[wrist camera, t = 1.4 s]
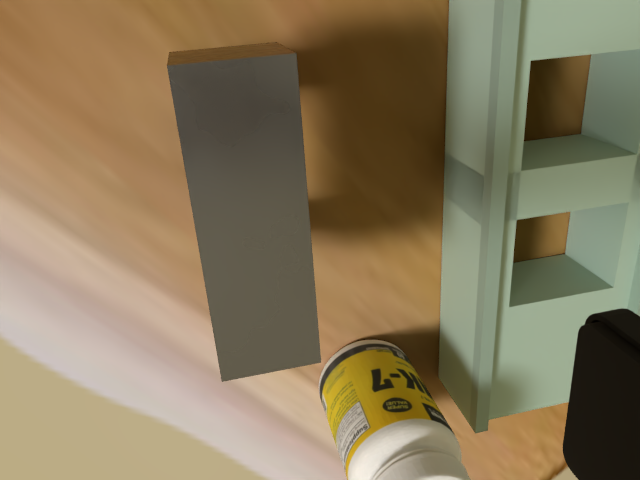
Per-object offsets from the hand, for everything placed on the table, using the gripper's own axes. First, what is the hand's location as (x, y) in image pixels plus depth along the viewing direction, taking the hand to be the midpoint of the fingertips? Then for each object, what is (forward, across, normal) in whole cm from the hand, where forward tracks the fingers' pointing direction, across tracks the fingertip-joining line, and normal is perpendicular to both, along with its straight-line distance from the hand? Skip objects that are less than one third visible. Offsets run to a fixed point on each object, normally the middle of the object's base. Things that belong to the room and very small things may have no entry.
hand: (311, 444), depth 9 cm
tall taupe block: (+15, 0, -1) cm, 15 cm away
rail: (+15, -13, +1) cm, 20 cm away
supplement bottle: (+16, -5, +11) cm, 20 cm away
